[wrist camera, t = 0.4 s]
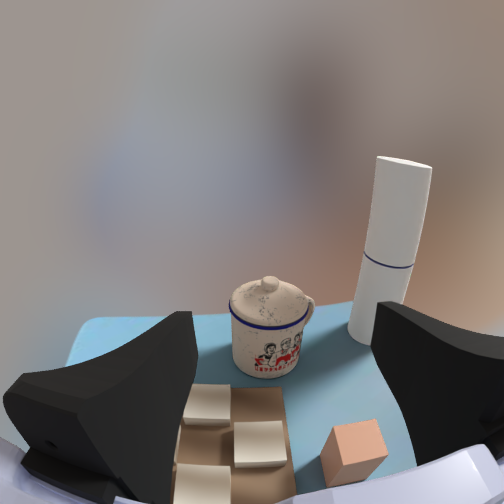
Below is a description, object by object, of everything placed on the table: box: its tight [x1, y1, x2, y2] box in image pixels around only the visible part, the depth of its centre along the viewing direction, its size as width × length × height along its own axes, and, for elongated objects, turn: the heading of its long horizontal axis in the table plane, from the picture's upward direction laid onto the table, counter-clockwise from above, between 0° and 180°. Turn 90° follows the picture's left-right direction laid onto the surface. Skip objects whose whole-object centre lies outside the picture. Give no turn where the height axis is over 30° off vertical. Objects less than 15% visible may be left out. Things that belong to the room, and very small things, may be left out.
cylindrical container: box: [347, 156, 432, 346], centre depth 35 cm, size 7×7×25 cm
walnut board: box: [170, 384, 297, 504], centre depth 23 cm, size 16×16×2 cm
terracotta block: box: [320, 419, 389, 487], centre depth 20 cm, size 4×4×6 cm
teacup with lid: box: [229, 276, 315, 379], centre depth 35 cm, size 12×9×12 cm
